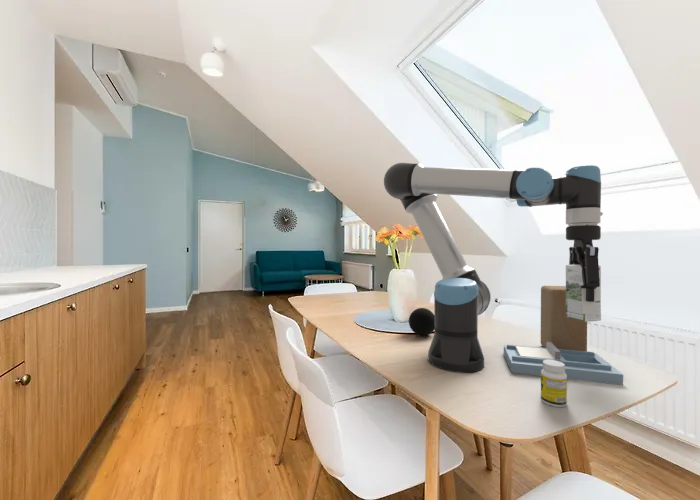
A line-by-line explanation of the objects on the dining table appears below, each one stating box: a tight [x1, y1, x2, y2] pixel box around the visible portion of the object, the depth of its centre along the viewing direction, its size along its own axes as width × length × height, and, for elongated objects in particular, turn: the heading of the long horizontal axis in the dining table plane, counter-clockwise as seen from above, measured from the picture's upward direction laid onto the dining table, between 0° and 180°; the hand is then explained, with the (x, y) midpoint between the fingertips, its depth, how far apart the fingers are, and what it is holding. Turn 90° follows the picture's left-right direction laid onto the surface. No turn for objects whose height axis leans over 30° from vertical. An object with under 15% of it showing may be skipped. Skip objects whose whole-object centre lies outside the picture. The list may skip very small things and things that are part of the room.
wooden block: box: [540, 285, 588, 351], centre depth 103 cm, size 10×10×20 cm
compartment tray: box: [503, 343, 624, 386], centre depth 89 cm, size 24×16×4 cm, turn 71°
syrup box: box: [565, 264, 602, 323], centre depth 87 cm, size 6×6×14 cm
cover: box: [515, 342, 561, 360], centre depth 90 cm, size 10×9×3 cm
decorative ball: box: [408, 307, 435, 336], centre depth 121 cm, size 10×10×10 cm
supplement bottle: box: [540, 360, 568, 408], centre depth 69 cm, size 5×5×8 cm
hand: (582, 310), depth 87 cm, fingers closed on syrup box, 8 cm apart
